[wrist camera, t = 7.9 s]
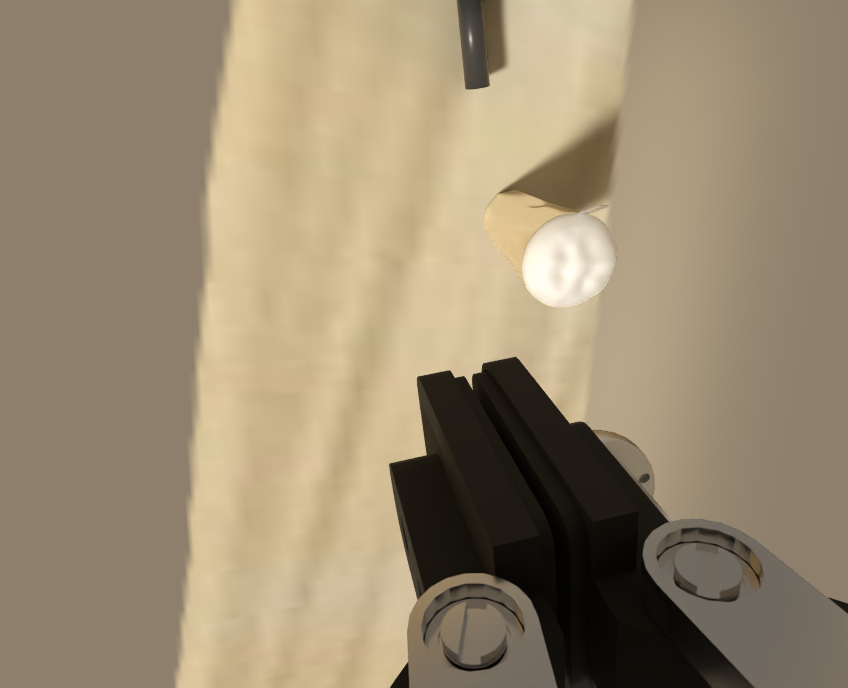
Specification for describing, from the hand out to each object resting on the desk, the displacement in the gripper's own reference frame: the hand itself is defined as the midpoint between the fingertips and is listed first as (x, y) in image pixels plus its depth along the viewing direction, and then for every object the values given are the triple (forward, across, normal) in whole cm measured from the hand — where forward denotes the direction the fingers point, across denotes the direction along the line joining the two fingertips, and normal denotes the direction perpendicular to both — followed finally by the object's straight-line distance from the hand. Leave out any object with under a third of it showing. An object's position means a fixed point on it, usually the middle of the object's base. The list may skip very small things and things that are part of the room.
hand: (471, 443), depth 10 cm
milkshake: (+26, -9, +3) cm, 27 cm away
